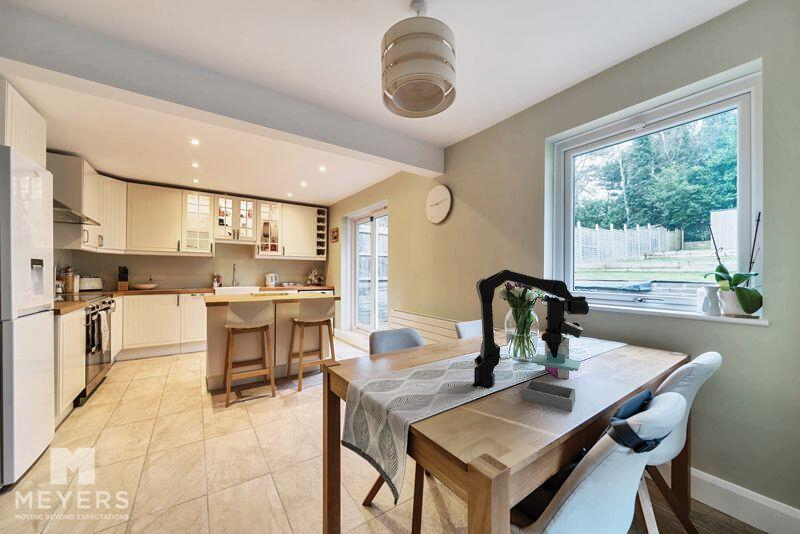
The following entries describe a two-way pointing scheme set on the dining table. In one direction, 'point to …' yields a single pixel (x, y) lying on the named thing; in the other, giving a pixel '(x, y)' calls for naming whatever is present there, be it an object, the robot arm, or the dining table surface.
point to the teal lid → (556, 361)
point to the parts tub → (549, 394)
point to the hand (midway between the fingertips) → (555, 357)
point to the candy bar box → (565, 349)
